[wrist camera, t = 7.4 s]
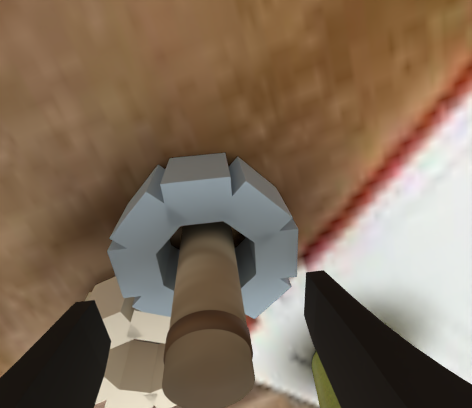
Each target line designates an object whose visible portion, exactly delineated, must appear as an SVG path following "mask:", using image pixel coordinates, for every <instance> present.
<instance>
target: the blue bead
mask: <svg viewBox="0 0 472 408" xmlns="http://www.w3.org/2000/svg"><path fill="white" fill-rule="evenodd" d="M292 218H293V217H292V215H291V213H290V212H289V210H288V208H287V206H286V204H285V203H284V201H283V199H282V197H281V196H280V194H279V192H278V190H277V188H276V187H275V186H274V185H272V184H271V183H270V182H269V181H267V180H266V179H265V178H264V177H262V176H261V175H260V174H259V173H258V172H256V171H255V170H254V169H253V168H251V167H250V166H249V165H248V164H246V163H245V162H244V161H243V160H242V159H240V158H239V157H238V156H237V158H236V159H235V160H234V161H233V162H232V163H231V165H230V166H229V167H228V163H227V159H226V154H225V153H217V154H207V155H197V156H187V157H177V158H170V159H169V161H168V164H167V167H166V169H164V168H163V167H161V166H160V165H157V167H156V168H155V169H154V170H153V172H152V173H151V174H150V176H149V177H148V178H147V180H146V181H145V182H144V183H143V185H142V186H141V187H140V189H139V190H138V191H137V193H136V194H135V195H134V196H133V198H132V199H131V200H130V202H129V203H128V205H127V206H126V208H125V210H124V212H123V214H122V216H121V218H120V219H119V221H118V223H117V225H116V227H115V229H114V231H113V232H112V234H111V236H110V238H109V239H111V240H113V241H112V243H111V244H110V246H109V248H108V250H107V252H108V255H109V258H110V261H111V264H112V267H113V270H114V272H115V275H116V278H117V281H118V284H119V287H120V290H121V293H122V296H123V298H129V297H135V298H134V301H133V305H132V307H133V308H135V309H138V310H140V311H142V312H146V313H151V314H157V315H162V316H168V317H171V312H172V304H173V297H174V289H175V281H176V274H177V266H178V259H179V251H180V250H179V249H177V248H175V247H174V246H172V245H171V242H170V237H171V236H172V235H173V234H174V233H175V232H176V231H177V229H178V228H179V227H180V226H185V225H194V224H203V223H212V222H221V221H224V222H225V223H227V224H228V225H230V226H231V227H233V228H234V229H235V230H237V231H238V232H240V233H241V234H243V235H244V236H246V238H245V239H244V240H243V241H242V242H241V243H240V244H239V245H238V246H237V247H236V248H235V255H236V261H237V267H238V274H239V280H240V286H241V293H242V299H243V305H244V312H245V314H246V315H248V316H250V317H252V318H253V319H255V318H256V317H258V316H259V315H260V314H261V313H262V312H263V311H264V310H265V309H267V308H268V307H269V306H270V305H271V304H272V303H273V302H275V301H276V300H277V299H278V298H279V297H280V296H281V295H282V294H284V293H285V292H286V291H287V290H288V289H289V288H290V287H291V284H290V281H289V279H288V278H289V277H297V253H298V228H297V226H296V224H295V222H294V220H293V219H292Z"/></svg>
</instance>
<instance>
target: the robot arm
mask: <svg viewBox="0 0 472 408" xmlns="http://www.w3.org/2000/svg"><path fill="white" fill-rule="evenodd" d="M304 316H305V319H306V323H307V326H308V329H309V332H310V336H311V339H312V342H313V345H314V347H315V349H316V352H317V354H318V356H319V359H320V361H321V363H322V365H323V368H324V370H325V372H326V375H327V377H328V379H329V381H330V384H331V386H332V388H333V391H334V393H335V395H336V397H337V400H338V402H339V404H340V406H341V408H472V384H470V383H468V382H467V381H465V380H464V379H462V378H460V377H459V376H457V375H456V374H454V373H453V372H451V371H449V370H448V369H446V368H445V367H443V366H442V365H440V364H439V363H438V362H436V361H435V360H433V359H432V358H430V357H429V356H427V355H426V354H424V353H423V352H421V351H420V350H418V349H417V348H416V347H414V346H413V345H412V344H410V343H409V342H408V341H406V340H405V339H404V338H402V337H401V336H400V335H398V334H397V333H396V332H394V331H393V330H392V329H391V328H389V327H388V326H387V325H386V324H384V323H383V322H382V321H381V320H379V319H378V318H377V317H376V316H375V315H373V314H372V313H371V312H370V311H369V310H367V309H366V308H365V307H364V306H363V305H361V304H360V303H359V302H358V301H357V300H356V299H355V298H353V297H352V296H351V295H350V294H349V293H348V292H347V291H346V290H345V289H343V288H342V287H341V286H340V285H339V284H338V283H337V282H336V281H335V280H334V279H333V278H331V277H330V276H329V275H328V274H327V273H326V272H325V271H315V272H307V273H306V287H305V307H304ZM110 346H111V339H110V337H109V335H108V332H107V330H106V327H105V325H104V322H103V320H102V317H101V315H100V312H99V310H98V307H97V305H96V303H95V300H90V301H82V302H76V303H75V304H74V305H73V306H71V307H70V308H69V309H68V310H67V311H66V312H65V313H64V314H63V315H62V316H61V318H60V319H59V320H58V321H57V322H56V323H55V324H54V325H53V326H52V327H51V328H50V329H49V330H48V331H47V332H46V333H45V334H44V335H43V336H42V337H41V338H40V339H39V340H38V341H37V342H36V343H35V344H34V345H33V346H32V347H31V348H30V349H29V350H28V351H27V352H26V353H25V354H24V355H23V356H22V357H21V358H20V359H19V360H18V361H17V362H16V363H15V364H14V365H13V366H12V367H11V368H10V369H9V370H8V371H7V372H6V373H5V374H4V375H3V376H2V377H1V378H0V408H94V406H95V403H96V400H97V396H98V393H99V390H100V387H101V384H102V381H103V378H104V375H105V370H106V366H107V361H108V356H109V351H110Z"/></svg>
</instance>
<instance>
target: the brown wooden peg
mask: <svg viewBox="0 0 472 408" xmlns="http://www.w3.org/2000/svg"><path fill="white" fill-rule="evenodd" d="M252 357H253V351H252V345H251V339H250V333H249V329H248V327H247V324H246V318H245V312H244V305H243V299H242V293H241V286H240V280H239V274H238V267H237V261H236V255H235V248H234V242H233V236H232V229H231V226H230V225H228V224H227V223H225V222H224V221H221V222H212V223H203V224H194V225H185V226H183V229H182V236H181V244H180V251H179V259H178V266H177V274H176V281H175V289H174V297H173V304H172V312H171V319H170V327H169V331H168V333H167V337H166V343H165V351H164V360H163V362H164V372H163V379H162V390H163V392H164V395H165V396H166V397H167V398H168V399H169V400H170V401H171V402H172V403H174V404H176V405H178V406H180V407H183V408H224V407H227V406H230V405H232V404H235V403H237V402H238V401H240V400H241V399H243V398H244V397H245V396H246V395H247V394H248V393H249V392H250V391H251V389H252V388H253V385H254V382H255V375H254V369H253V362H252Z"/></svg>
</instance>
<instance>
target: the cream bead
mask: <svg viewBox="0 0 472 408" xmlns="http://www.w3.org/2000/svg"><path fill="white" fill-rule="evenodd" d="M134 298H135V297H129V298H123V296H122V293H121V290H120V287H119V284H118V281H117V278H116V276H115V277H113V278H110V279H108V280H106V281H104V282H101V283H99V284H97V285H95V287H94V289H93V291H92V292H89V293H88V295H87V297H86V299H85V301H90V300H95V303H96V305H97V307H98V310H99V312H100V315H101V317H102V320H103V322H104V325H105V327H106V330H107V332H108V335H109V337H110V339H111V346H110V351H109V356H108V361H107V366H106V370H105V375H104V378H103V381H102V384H101V387H100V390H99V393H98V396H97V400H96V403H95V404H97V403H100V402H103V401H105V400H107V401H106V404H105V408H152V407H153V405H154V406H156V407H157V408H171V407H174V406H177V405H176V404H174V403H172V402H171V401H170V400H169V399H168V398H167V397H166V396H165V395H164V392H163V390H162V379H163V372H164V362H163V360H164V351H165V343H166V337H167V333H168V331H169V327H170V319H171V317H168V316H162V315H157V314H151V313H146V312H142V311H140V310H138V309H135V308H133V307H132V305H133V301H134ZM134 339H139V340H145V341H151V342H157V343H159V344H156V343H149V342H143V341H137V340H134Z"/></svg>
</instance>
